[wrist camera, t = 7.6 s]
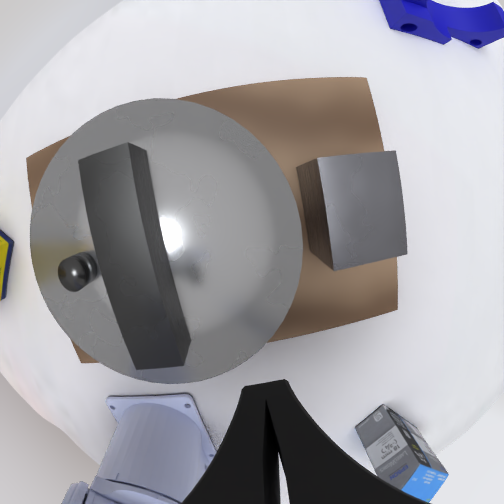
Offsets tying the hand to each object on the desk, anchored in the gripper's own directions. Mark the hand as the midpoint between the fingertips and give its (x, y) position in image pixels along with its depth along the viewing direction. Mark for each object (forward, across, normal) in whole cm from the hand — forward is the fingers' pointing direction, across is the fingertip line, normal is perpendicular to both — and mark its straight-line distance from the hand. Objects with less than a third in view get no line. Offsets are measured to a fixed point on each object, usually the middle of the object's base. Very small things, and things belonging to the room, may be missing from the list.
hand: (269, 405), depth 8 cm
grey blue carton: (+11, -11, +18) cm, 24 cm away
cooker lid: (+5, +4, -5) cm, 8 cm away
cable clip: (+11, -20, -20) cm, 31 cm away
